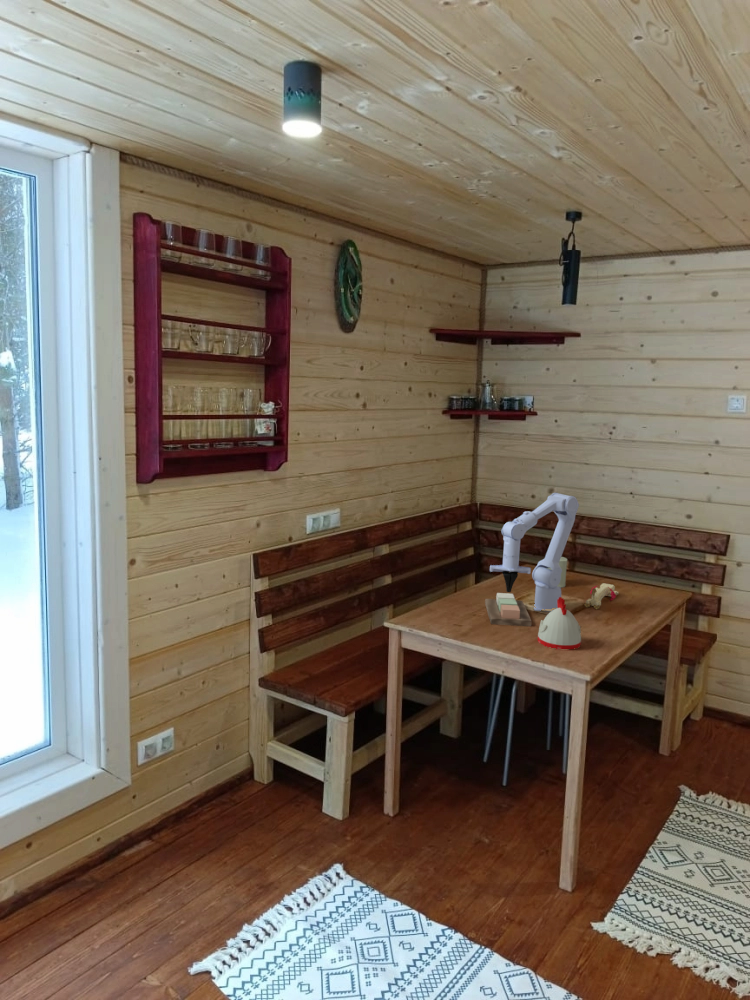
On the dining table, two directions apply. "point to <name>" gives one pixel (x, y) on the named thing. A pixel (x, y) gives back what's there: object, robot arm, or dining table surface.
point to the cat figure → (600, 595)
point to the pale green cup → (563, 575)
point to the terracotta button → (510, 611)
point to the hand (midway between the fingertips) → (508, 591)
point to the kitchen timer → (560, 629)
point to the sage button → (506, 602)
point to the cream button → (504, 596)
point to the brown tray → (497, 619)
